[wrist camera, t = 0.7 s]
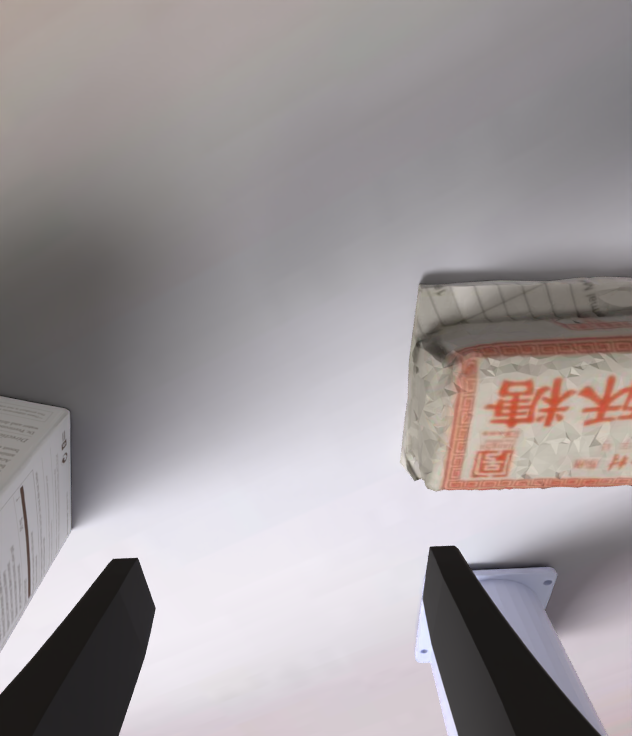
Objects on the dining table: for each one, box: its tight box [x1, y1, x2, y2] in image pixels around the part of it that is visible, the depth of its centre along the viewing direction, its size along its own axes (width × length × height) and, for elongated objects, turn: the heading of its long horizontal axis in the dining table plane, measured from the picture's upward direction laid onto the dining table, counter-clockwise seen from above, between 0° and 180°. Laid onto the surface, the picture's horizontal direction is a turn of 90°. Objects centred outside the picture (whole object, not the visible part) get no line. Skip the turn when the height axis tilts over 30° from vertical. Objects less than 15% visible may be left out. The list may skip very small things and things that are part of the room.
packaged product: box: [400, 276, 632, 491], centre depth 18 cm, size 18×5×10 cm
